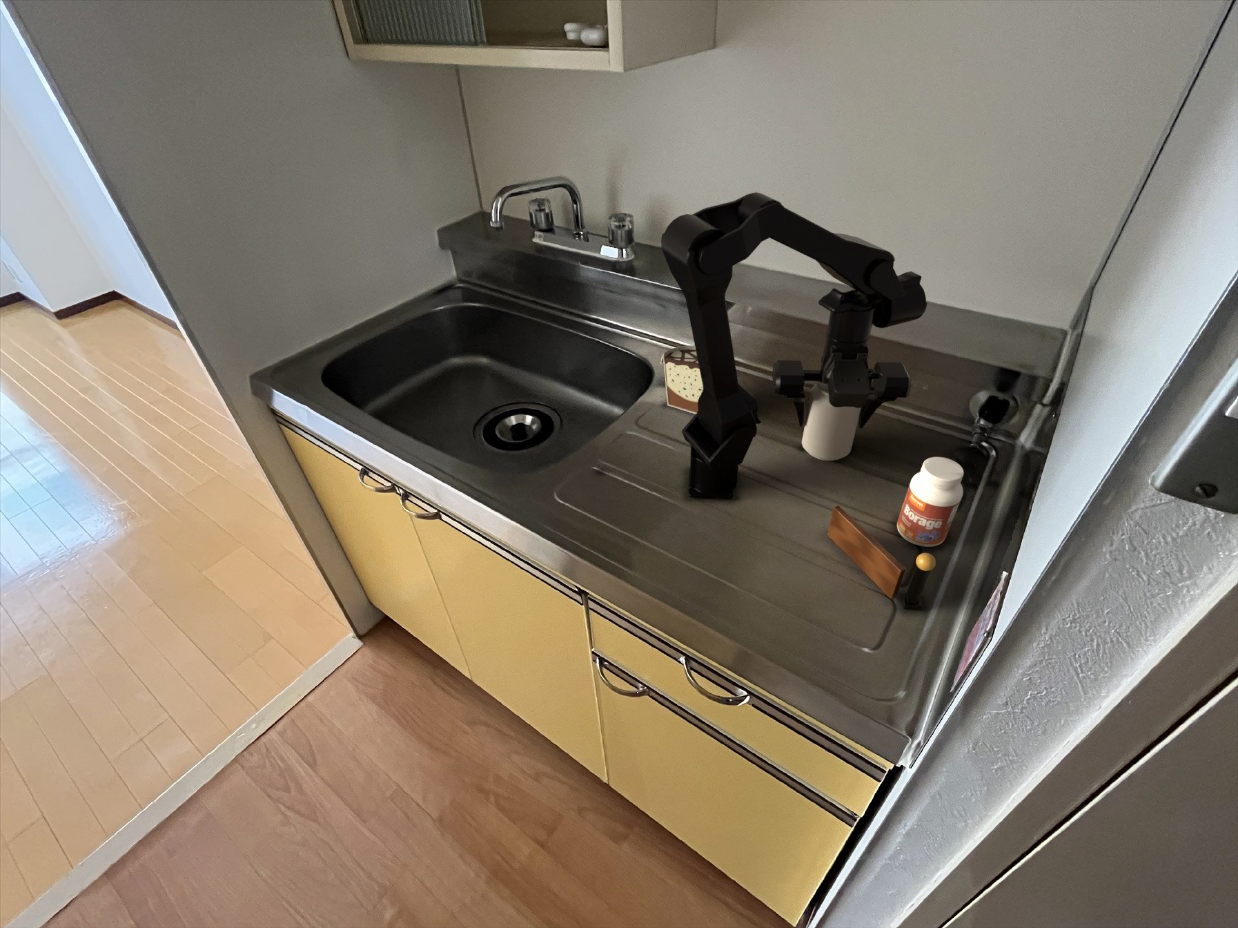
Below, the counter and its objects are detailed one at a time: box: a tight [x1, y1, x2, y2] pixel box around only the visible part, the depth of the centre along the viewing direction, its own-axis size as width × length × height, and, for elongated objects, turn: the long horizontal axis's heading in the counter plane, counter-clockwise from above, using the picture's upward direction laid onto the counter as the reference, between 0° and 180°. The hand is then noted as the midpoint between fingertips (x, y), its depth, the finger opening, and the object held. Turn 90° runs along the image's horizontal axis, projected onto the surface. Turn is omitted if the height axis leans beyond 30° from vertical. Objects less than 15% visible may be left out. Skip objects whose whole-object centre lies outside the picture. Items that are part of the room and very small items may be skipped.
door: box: [827, 505, 907, 600], centre depth 80 cm, size 12×2×5 cm, turn 23°
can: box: [801, 384, 861, 462], centre depth 98 cm, size 8×8×12 cm
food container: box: [660, 344, 703, 415], centre depth 110 cm, size 12×6×10 cm, turn 58°
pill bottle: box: [896, 456, 965, 548], centre depth 83 cm, size 6×6×11 cm
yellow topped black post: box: [899, 552, 937, 611], centre depth 74 cm, size 2×2×8 cm
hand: (830, 426), depth 99 cm, fingers open, 8 cm apart
